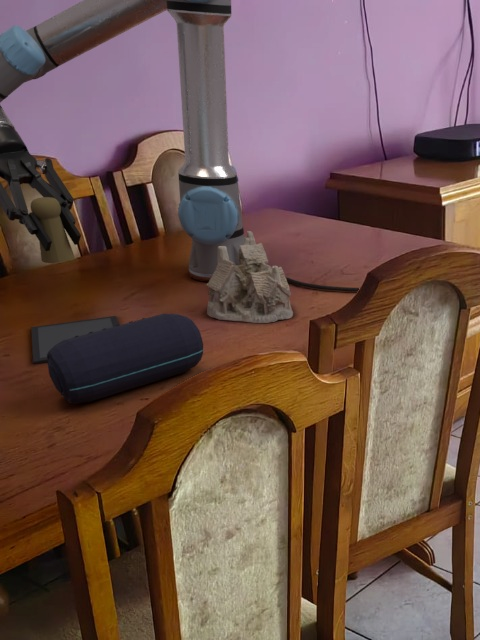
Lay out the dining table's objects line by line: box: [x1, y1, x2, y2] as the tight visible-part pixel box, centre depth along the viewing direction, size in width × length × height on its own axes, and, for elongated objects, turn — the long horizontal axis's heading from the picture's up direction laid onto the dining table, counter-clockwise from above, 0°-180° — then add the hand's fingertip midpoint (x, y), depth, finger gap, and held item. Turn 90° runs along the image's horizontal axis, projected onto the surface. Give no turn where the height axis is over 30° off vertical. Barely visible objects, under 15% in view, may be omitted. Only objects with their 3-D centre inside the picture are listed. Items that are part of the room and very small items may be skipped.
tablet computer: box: [30, 315, 120, 365], centre depth 158 cm, size 16×20×1 cm
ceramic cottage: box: [206, 230, 294, 324], centre depth 165 cm, size 16×16×15 cm
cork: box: [30, 196, 76, 264], centre depth 157 cm, size 6×6×11 cm
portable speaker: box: [47, 313, 204, 405], centre depth 136 cm, size 25×10×10 cm, turn 133°
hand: (63, 243), depth 156 cm, fingers closed on cork, 5 cm apart
